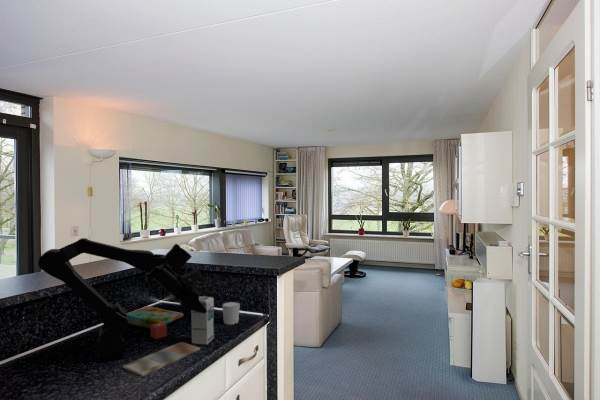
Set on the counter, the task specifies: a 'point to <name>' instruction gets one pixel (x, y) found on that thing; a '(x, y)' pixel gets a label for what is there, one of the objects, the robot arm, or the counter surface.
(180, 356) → the game board
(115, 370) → the counter surface
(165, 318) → the puzzle game
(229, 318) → the shot glass
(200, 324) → the syrup box
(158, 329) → the red die
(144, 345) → the counter surface
